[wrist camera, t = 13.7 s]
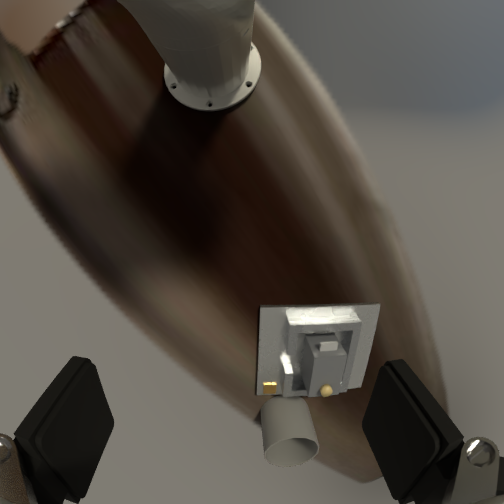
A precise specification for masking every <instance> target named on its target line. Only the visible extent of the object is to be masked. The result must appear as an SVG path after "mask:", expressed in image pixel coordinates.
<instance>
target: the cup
mask: <svg viewBox="0 0 504 504" xmlns="http://www.w3.org/2000/svg"><path fill="white" fill-rule="evenodd" d="M261 425H262V435H263V446H264V457H265V459H266V460H267V461H268V462H269V463H270V464H272V465H276V466H279V467H291V466H296V465H300V464H303V463H305V462H307V461H309V460H311V459H312V458H313V457H314V456H315V455H316V454H317V453H318V450H319V443H318V440H317V436H316V433H315V429H314V426H313V422H312V419H311V415H310V412H309V408H308V405H307V403H306V402H305V400H304V399H303V398H301V397H299V396H294V397H283V396H282V395H280V396H276V397H273V398H272V399H270V400H268V401H267V402H265V404H264V405H263V406H262V408H261Z"/></svg>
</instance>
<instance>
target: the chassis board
mask: <svg viewBox="0 0 504 504" xmlns="http://www.w3.org/2000/svg"><path fill="white" fill-rule="evenodd" d="M379 309H380V303H379V302H371V303H349V304H317V305H260V322H259V347H258V371H257V395H278V394H282V396H283V397H294V396H308V395H307V391H306V388H305V385H304V381H303V378H302V375H301V368H302V360H303V352H304V343H305V335H316V334H333V333H335V335H336V336H337V338H338V340H339V341H340V343H341V345H342V347H343V348H344V350H345V352H346V354H347V359H346V364H345V369H344V373H343V378H342V382H341V386H340V390H339V393H340V392H346V391H347V389H351V388H358V387H361V385H362V381H363V378H364V374H365V370H366V366H367V363H368V359H369V355H370V351H371V347H372V342H373V338H374V334H375V329H376V324H377V319H378V315H379Z"/></svg>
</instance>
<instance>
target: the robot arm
mask: <svg viewBox="0 0 504 504" xmlns="http://www.w3.org/2000/svg"><path fill="white" fill-rule="evenodd" d="M117 1H118V2H120V3H121V4H122V5H123V6H124V7H125V8H126V9H127V10H128V11H129V12H130V13H131V14H132V15H133V16H134V18H135V19H136V20H137V22H138V23H139V24H140V26H141V27H142V29H143V30H144V32H145V33H146V34H147V36H148V38H149V39H150V41H151V42H152V44H153V45H154V47H155V48H156V49H157V51H158V52H159V54H160V55H161V57H162V58H163V60H164V61H165V67H164V79H165V83H166V85H167V87H168V89H169V91H170V93H171V94H172V95H173V96H174V97H175V98H176V99H177V100H178V101H179V102H180V103H182V104H183V105H185V106H187V107H189V108H192V109H195V110H200V111H218V110H223V109H226V108H230V107H232V106H234V105H236V104H238V103H240V102H241V101H243V100H244V99H245V98H247V97H248V96H249V94H250V93H251V92H252V91H253V90H254V88H255V87H256V85H257V83H258V81H259V78H260V74H261V58H260V54H259V52H258V50H257V48H256V47H255V45H254V44H253V43H252V42H251V40H252V28H253V17H254V5H255V0H117ZM251 50H252V51H251ZM247 85H250V86H251V87H247ZM175 86H176V88H175V89H173V88H174V87H175ZM209 104H212V106H211V107H209V106H208V105H209ZM113 427H114V419H113V416H112V413H111V411H110V408H109V405H108V402H107V400H106V397H105V394H104V391H103V388H102V385H101V382H100V379H99V375H98V372H97V369H96V366H95V365H94V364H93V363H92V362H91V360H90V359H88V358H82V357H77V356H73V357H72V358H71V359H70V360H69V361H68V363H67V364H66V365H65V366H64V368H63V369H62V370H61V371H60V373H59V374H58V375H57V376H56V378H55V379H54V380H53V382H52V383H51V384H50V385H49V387H48V388H47V389H46V390H45V392H44V393H43V394H42V396H41V397H40V398H39V400H38V401H37V402H36V404H35V405H34V406H33V408H32V409H31V410H30V412H29V413H28V414H27V416H26V417H25V418H24V420H23V421H22V423H21V424H20V426H19V427H18V428H17V430H16V431H15V433H14V435H15V439H14V440H12V438H11V437H9V436H8V435H5V434H1V433H0V504H63V501H64V499H66V500H69V501H71V502H74V503H77V504H78V503H79V501H80V499H81V498H84V497H85V496H86V493H87V491H88V488H89V486H90V483H91V481H92V478H93V476H94V473H95V470H96V468H97V465H98V463H99V461H100V458H101V456H102V453H103V451H104V448H105V446H106V444H107V441H108V439H109V437H110V435H111V432H112V430H113ZM362 428H363V431H364V433H365V435H366V438H367V440H368V442H369V444H370V447H371V449H372V451H373V453H374V456H375V458H376V460H377V462H378V465H379V467H380V469H381V472H382V474H383V476H384V479H385V481H386V483H387V486H388V488H389V490H390V493H391V495H392V497H393V499H395V500H398V501H399V504H407V503H409V502H412V501H414V502H415V504H504V457H500V456H499V450H498V448H497V446H496V445H495V443H494V442H493V441H491V440H489V439H487V438H484V437H474V438H471V439H469V440H468V441H467V442H466V443H464V442H463V438H464V436H463V435H462V434H461V432H460V431H459V430H458V428H457V427H456V426H455V424H454V423H453V422H452V420H451V419H450V418H449V416H448V415H447V414H446V413H445V411H444V410H443V409H442V407H441V406H440V405H439V403H438V402H437V401H436V400H435V398H434V397H433V396H432V394H431V393H430V392H429V391H428V389H427V388H426V387H425V386H424V384H423V383H422V382H421V381H420V379H419V378H418V377H417V376H416V374H415V373H414V372H413V371H412V369H411V368H410V367H409V366H408V365H407V363H406V362H405V361H404V360H403V359H399V360H392V361H387V362H386V363H385V364H384V366H382V367H381V368H380V370H379V373H378V376H377V380H376V383H375V386H374V389H373V392H372V395H371V398H370V401H369V404H368V407H367V410H366V412H365V415H364V418H363V421H362Z"/></svg>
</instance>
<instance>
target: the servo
mask: <svg viewBox="0 0 504 504" xmlns="http://www.w3.org/2000/svg"><path fill="white" fill-rule="evenodd" d="M346 359H347V354H346V352H345V350H344V348H343V347H342V345H341V343H340V341H339V340H338V338H337V336H336V335H335V333H333V334H316V335H305V343H304V352H303V360H302V368H301V375H302V378H303V381H304V385H305V388H306V391H307V395H308V397H317V396H323V397H327V396H330V395H336V394H339V390H340V386H341V382H342V378H343V373H344V369H345V364H346Z"/></svg>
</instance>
